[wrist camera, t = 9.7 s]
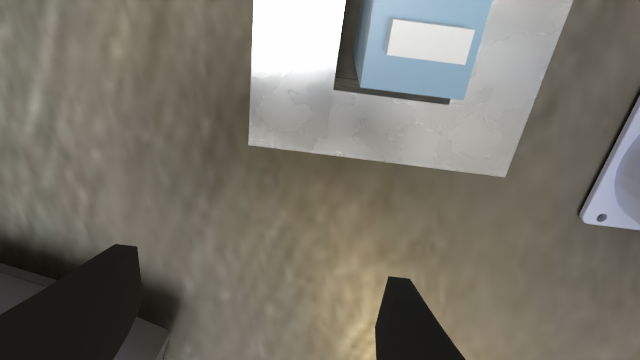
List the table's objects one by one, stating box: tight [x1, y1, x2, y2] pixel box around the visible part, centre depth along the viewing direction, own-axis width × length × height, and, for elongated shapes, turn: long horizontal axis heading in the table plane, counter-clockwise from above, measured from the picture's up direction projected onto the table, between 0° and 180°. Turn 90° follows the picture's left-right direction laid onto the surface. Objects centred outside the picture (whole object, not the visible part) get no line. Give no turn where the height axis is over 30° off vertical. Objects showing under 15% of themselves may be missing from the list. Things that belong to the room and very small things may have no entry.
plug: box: [353, 0, 493, 100], centre depth 14 cm, size 4×4×7 cm
